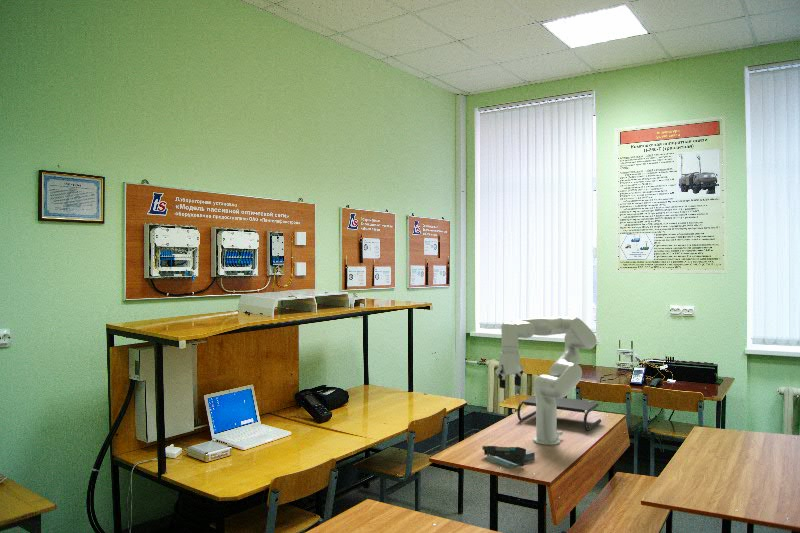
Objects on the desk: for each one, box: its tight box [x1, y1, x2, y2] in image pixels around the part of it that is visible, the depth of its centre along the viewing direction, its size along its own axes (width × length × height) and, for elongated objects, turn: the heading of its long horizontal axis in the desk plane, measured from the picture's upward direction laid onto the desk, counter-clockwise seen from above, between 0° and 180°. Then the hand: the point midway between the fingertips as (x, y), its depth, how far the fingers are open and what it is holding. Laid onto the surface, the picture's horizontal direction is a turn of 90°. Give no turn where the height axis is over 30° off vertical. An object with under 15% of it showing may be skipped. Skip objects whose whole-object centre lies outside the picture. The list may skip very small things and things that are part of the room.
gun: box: [482, 445, 527, 467], centre depth 243 cm, size 4×20×10 cm, turn 48°
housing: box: [519, 446, 536, 463], centre depth 248 cm, size 5×10×4 cm, turn 34°
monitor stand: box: [516, 395, 602, 432], centre depth 309 cm, size 37×28×11 cm
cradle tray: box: [486, 455, 520, 469], centre depth 243 cm, size 7×13×2 cm, turn 34°
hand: (510, 386), depth 263 cm, fingers open, 9 cm apart
